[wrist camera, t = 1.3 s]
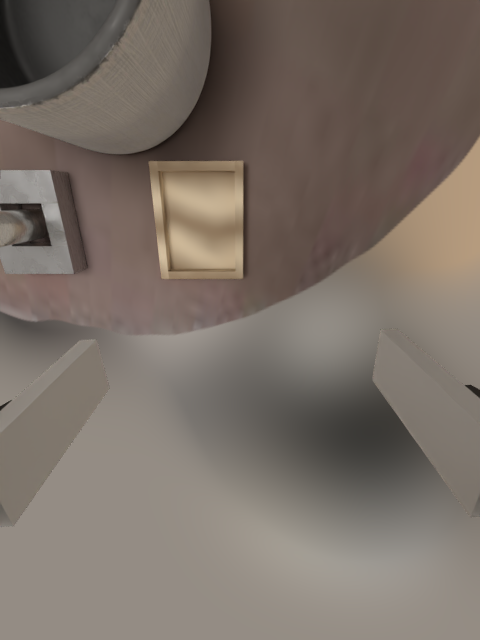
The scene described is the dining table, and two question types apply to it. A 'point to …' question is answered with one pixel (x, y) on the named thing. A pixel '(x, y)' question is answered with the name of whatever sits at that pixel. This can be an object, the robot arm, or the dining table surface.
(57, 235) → the block
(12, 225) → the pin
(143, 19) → the planter
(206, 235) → the tray
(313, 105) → the dining table surface
